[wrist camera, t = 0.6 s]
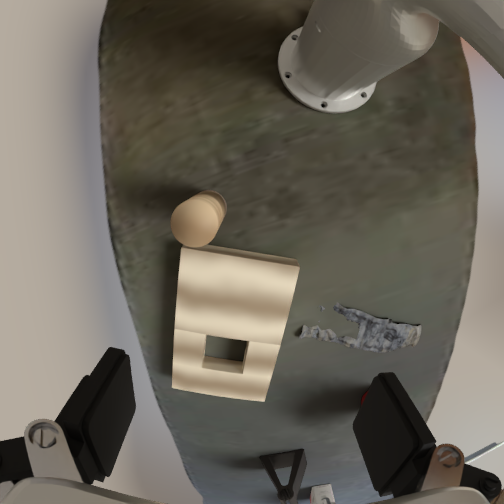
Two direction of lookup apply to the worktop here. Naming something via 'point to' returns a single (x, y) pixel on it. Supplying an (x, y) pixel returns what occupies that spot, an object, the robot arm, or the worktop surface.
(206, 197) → the peg
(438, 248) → the worktop surface
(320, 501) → the ink box
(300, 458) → the phone stand
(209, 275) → the board
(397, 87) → the worktop surface
